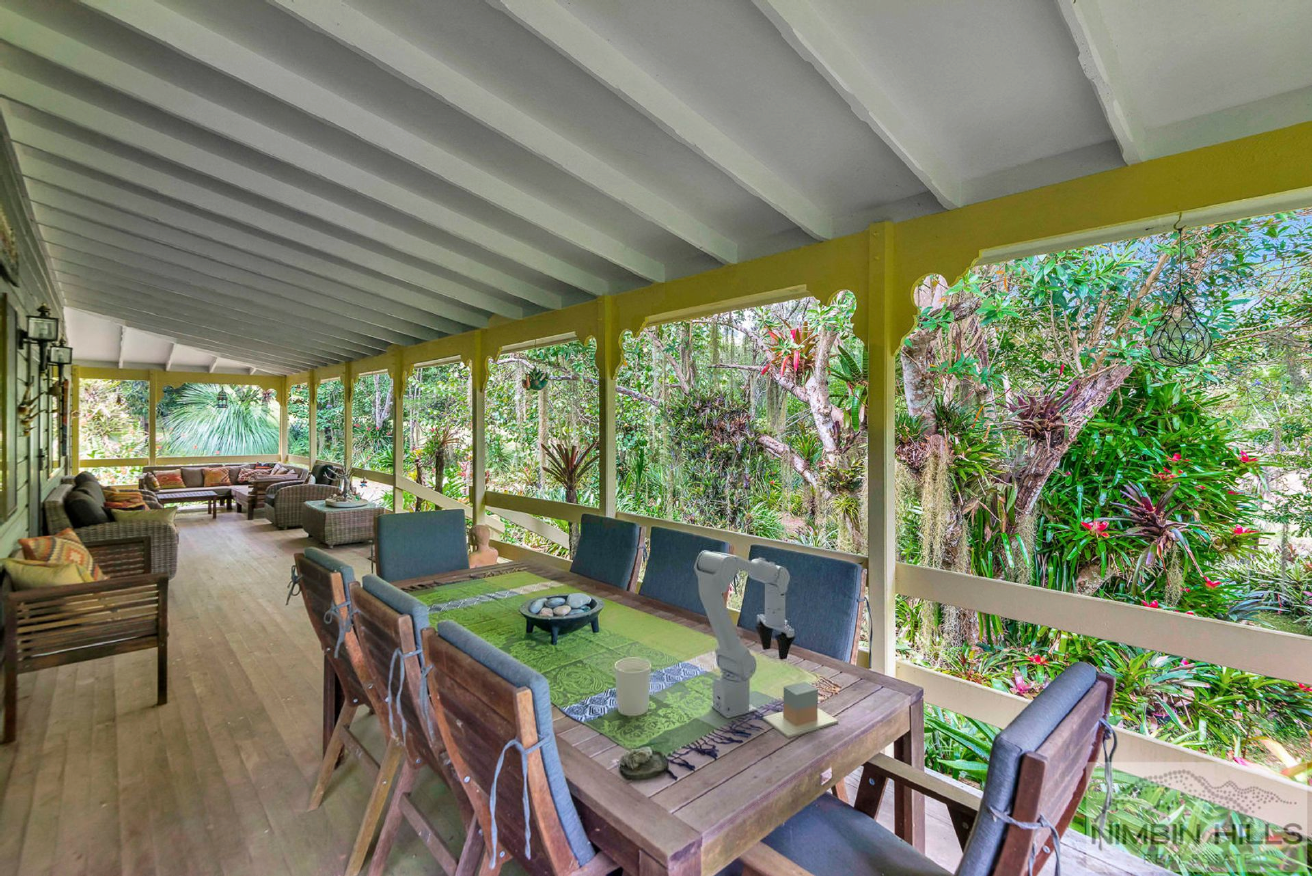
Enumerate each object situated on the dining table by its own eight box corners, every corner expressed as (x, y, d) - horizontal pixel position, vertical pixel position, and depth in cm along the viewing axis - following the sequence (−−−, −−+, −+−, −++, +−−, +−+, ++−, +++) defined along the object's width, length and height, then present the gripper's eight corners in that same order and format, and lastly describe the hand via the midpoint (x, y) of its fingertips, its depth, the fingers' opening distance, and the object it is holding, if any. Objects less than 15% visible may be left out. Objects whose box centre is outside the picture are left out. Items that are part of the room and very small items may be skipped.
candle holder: (609, 714, 153) (609, 669, 152) (622, 697, 162) (622, 655, 162) (644, 720, 150) (644, 674, 149) (655, 702, 159) (655, 659, 159)
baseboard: (788, 737, 141) (788, 735, 141) (763, 719, 150) (763, 716, 150) (837, 722, 148) (837, 720, 148) (811, 705, 157) (811, 703, 157)
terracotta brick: (795, 726, 146) (796, 710, 145) (783, 717, 150) (783, 702, 150) (817, 720, 149) (817, 704, 148) (804, 711, 153) (804, 696, 153)
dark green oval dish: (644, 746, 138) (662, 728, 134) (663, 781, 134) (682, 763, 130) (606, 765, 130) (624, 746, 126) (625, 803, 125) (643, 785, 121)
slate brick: (796, 710, 145) (796, 694, 145) (783, 702, 150) (783, 686, 150) (817, 704, 148) (817, 689, 148) (804, 696, 153) (804, 681, 153)
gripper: (802, 612, 161) (802, 660, 162) (770, 598, 174) (770, 642, 175) (782, 616, 158) (782, 665, 159) (751, 601, 171) (751, 646, 172)
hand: (774, 653), depth 166 cm, fingers open, 7 cm apart
